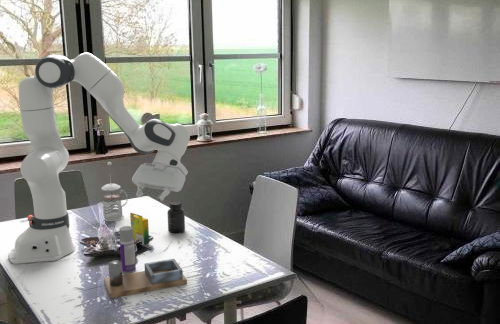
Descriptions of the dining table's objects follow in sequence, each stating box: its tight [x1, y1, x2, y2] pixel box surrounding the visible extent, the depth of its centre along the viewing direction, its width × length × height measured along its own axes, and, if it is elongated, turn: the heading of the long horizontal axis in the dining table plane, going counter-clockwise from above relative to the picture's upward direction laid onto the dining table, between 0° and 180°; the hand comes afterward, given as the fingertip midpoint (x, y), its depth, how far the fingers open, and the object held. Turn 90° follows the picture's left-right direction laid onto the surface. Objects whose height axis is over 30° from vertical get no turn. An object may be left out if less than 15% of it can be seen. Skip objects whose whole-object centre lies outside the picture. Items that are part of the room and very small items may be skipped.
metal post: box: [107, 259, 124, 287], centre depth 166 cm, size 4×4×7 cm
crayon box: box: [129, 212, 150, 246], centre depth 204 cm, size 7×3×12 cm, turn 50°
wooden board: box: [103, 258, 188, 299], centre depth 170 cm, size 24×12×4 cm, turn 113°
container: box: [118, 225, 137, 274], centre depth 179 cm, size 5×5×15 cm
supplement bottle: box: [167, 201, 186, 235], centre depth 215 cm, size 7×7×12 cm
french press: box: [101, 161, 128, 222], centre depth 231 cm, size 10×12×25 cm
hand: (149, 198), depth 186 cm, fingers open, 8 cm apart
